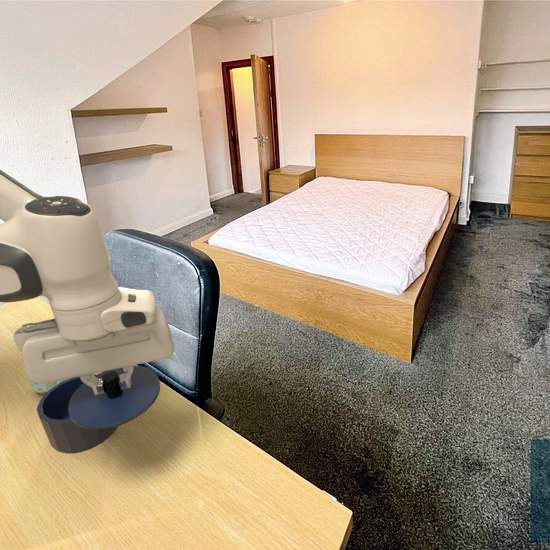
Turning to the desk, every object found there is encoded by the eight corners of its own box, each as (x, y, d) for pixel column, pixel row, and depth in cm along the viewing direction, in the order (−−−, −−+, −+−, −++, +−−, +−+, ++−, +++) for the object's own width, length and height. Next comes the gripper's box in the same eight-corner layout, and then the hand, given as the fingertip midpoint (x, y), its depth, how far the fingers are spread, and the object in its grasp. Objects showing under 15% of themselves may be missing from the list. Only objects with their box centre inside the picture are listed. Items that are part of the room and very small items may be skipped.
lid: (61, 443, 57) (51, 418, 55) (78, 380, 69) (70, 358, 67) (161, 419, 60) (155, 395, 58) (160, 363, 71) (155, 341, 69)
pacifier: (34, 384, 91) (34, 400, 86) (25, 362, 89) (24, 376, 84) (69, 373, 94) (71, 387, 89) (61, 350, 92) (63, 364, 87)
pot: (42, 461, 72) (28, 430, 69) (57, 410, 83) (46, 382, 80) (117, 443, 75) (107, 412, 71) (122, 396, 86) (113, 368, 82)
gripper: (1, 340, 52) (36, 419, 58) (164, 310, 56) (180, 387, 63) (16, 315, 58) (46, 390, 64) (163, 289, 62) (178, 362, 68)
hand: (114, 388), depth 63 cm, fingers closed on lid, 2 cm apart
